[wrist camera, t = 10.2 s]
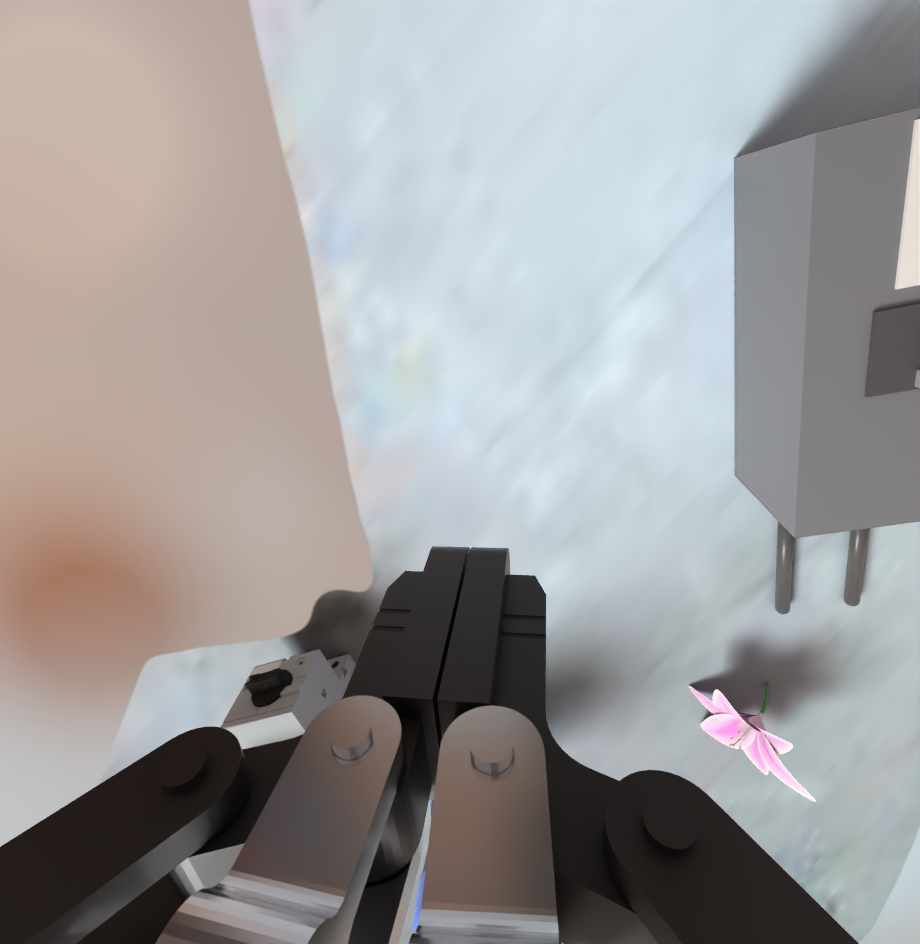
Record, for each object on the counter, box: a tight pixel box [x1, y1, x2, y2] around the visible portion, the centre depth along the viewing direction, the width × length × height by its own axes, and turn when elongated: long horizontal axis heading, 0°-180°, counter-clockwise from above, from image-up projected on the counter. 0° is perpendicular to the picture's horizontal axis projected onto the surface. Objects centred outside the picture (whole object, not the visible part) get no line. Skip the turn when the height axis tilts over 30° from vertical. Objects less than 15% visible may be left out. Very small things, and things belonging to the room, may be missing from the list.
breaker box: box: [734, 107, 920, 614], centre depth 37 cm, size 39×14×11 cm, turn 12°
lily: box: [689, 682, 816, 802], centre depth 52 cm, size 12×12×10 cm
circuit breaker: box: [220, 649, 356, 749], centre depth 51 cm, size 8×14×15 cm, turn 22°
